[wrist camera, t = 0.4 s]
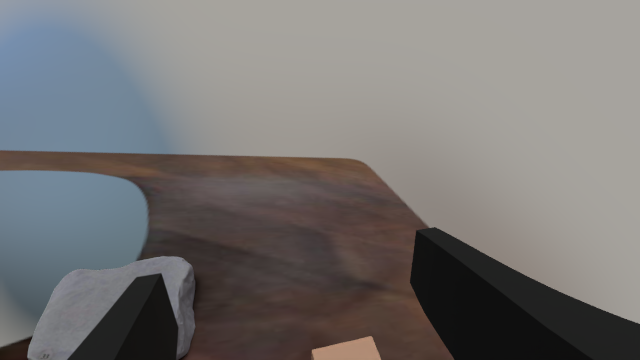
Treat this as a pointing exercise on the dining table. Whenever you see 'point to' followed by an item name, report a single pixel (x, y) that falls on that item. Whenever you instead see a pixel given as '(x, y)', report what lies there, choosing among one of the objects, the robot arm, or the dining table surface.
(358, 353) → the top brick
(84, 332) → the stone block
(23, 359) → the dining table surface
